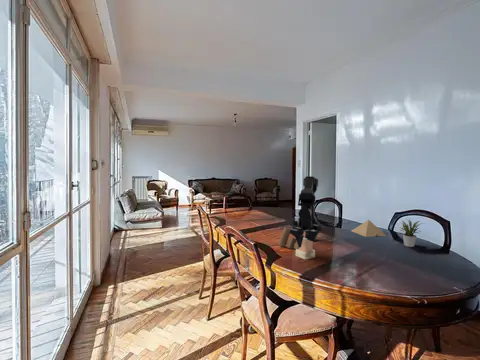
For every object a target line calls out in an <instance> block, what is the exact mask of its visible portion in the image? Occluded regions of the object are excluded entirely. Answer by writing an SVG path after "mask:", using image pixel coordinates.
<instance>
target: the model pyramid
mask: <svg viewBox="0 0 480 360" xmlns="http://www.w3.org/2000/svg"><path fill="white" fill-rule="evenodd" d="M351 232H353V233H355V234H358V235H360V236H362V237H365V238H366V237H369V238H370V237H383V236H384V237H386V236H387V235H386V234H385V233H384V232H383V231H382V230H381V229H380V228H378V227H377V226H376V225H375V224H374V223H373V222H372V221H371V220H370V219H368V220H366V221H364V222H363V223H361V224H360V225H358V226H356V227H355V228H354V229H352V230H351Z"/></svg>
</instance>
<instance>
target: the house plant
mask: <svg viewBox="0 0 480 360" xmlns="http://www.w3.org/2000/svg"><path fill="white" fill-rule="evenodd" d="M401 223H402V227H400V230H399V232H403V234H402V238H403V245H404V246H406V247H409V248H412V247H413V248H414V247H415V245H416V241H417V235H416V234H419V233H421V232H422V231H421V230H419V231H418V229H420V227H419V226H420V225H423V224H425V225H426V222H425V223H424V222H422V223H420V220H417V221H415V222H413V224H412V220H410V219H408V220H407V223H406V221H404V220H401ZM404 231H405V232H404Z"/></svg>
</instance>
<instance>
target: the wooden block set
mask: <svg viewBox="0 0 480 360" xmlns="http://www.w3.org/2000/svg"><path fill="white" fill-rule="evenodd" d="M290 235H291V234H290V229H289V228H286V227H284V229H283V231H282V233H281V236H280V238H279V241H278V242H277V243H278V246H281V247H283V248H285V247H287V248H288V249H291V250H294V249H295V250H296V249H299V247H298V244H297V241H296V238H295V237H294V236H291V237H290ZM295 242H296V243H295Z"/></svg>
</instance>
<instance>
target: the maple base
mask: <svg viewBox="0 0 480 360" xmlns="http://www.w3.org/2000/svg"><path fill="white" fill-rule="evenodd" d="M295 257H298V258H300V259H303V260H309V259H314V258H316V250H315V251H310V252H303V251H300V250H299V249H295Z"/></svg>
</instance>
